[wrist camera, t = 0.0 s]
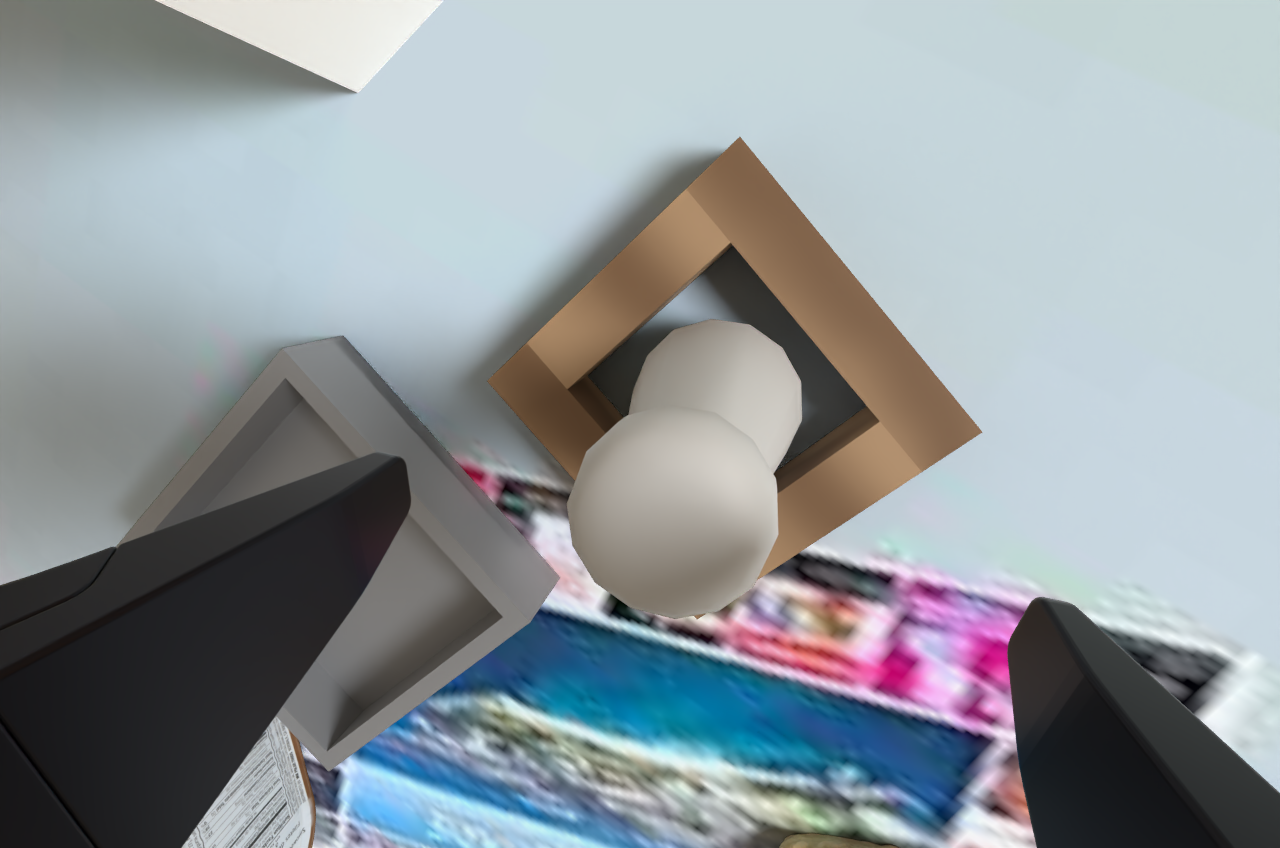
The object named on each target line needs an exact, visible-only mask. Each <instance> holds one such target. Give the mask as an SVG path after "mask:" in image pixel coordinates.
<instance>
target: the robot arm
mask: <svg viewBox="0 0 1280 848" xmlns="http://www.w3.org/2000/svg"><path fill="white" fill-rule="evenodd" d="M410 507H411V492H410V485H409V478H408V471H407V465H406V462H405V460H404V459H403V458H402V457H401V456H398V455H393V454H389V453H384V452H374V453H371V454H368V455H366V456H363V457H360V458H357V459H355V460H352V461H349V462H346V463H343V464H341V465H338V466H335V467H332V468H330V469H327V470H324V471H321V472H318V473H316V474H313V475H310V476H307V477H305V478H302V479H299V480H296V481H294V482H291V483H288V484H285V485H282V486H280V487H277V488H274V489H271V490H269V491H266V492H263V493H260V494H258V495H255V496H252V497H249V498H246V499H244V500H241V501H238V502H235V503H233V504H230V505H227V506H224V507H222V508H219V509H216V510H213V511H210V512H208V513H205V514H202V515H199V516H197V517H194V518H191V519H188V520H185V521H183V522H180V523H177V524H174V525H172V526H169V527H166V528H163V529H161V530H158V531H155V532H152V533H149V534H147V535H144V536H141V537H138V538H136V539H133V540H130V541H127V542H125V543H122V544H120V545H119V546H118V548H116V547H110V548H107V549H105V550H102V551H99V552H97V553H94V554H91V555H88V556H86V557H83V558H80V559H77V560H74V561H71V562H69V563H66V564H63V565H60V566H57V567H54V568H51V569H48V570H45V571H43V572H40V573H37V574H34V575H31V576H28V577H25V578H22V579H19V580H16V581H12V582H9V583H6V584H3V585H0V848H182V847H183V845H184V844H185V842H186V841H187V840H188V838H189V837H190V835H191V834H192V833H193V831H194V830H195V828H196V827H197V826H198V824H199V823H200V821H201V820H202V819H203V817H204V816H205V814H206V813H207V812H208V810H209V809H210V807H211V806H212V805H213V803H214V802H215V800H216V799H217V798H218V796H219V795H220V793H221V792H222V791H223V789H224V788H225V786H226V785H227V784H228V782H229V781H230V779H231V778H232V777H233V775H234V774H235V772H236V771H237V770H238V768H239V767H240V765H241V764H242V763H243V761H244V760H245V758H246V757H247V756H248V754H249V753H250V751H251V750H252V749H253V747H254V746H255V744H256V743H257V742H258V740H259V739H260V737H261V736H262V735H263V733H264V732H265V730H266V729H267V728H268V726H269V725H270V723H271V722H272V721H273V719H274V718H275V716H276V715H277V714H278V712H279V711H280V709H281V708H282V707H283V705H284V704H285V702H286V701H287V700H288V698H289V697H290V695H291V694H292V693H293V691H294V690H295V688H296V687H297V686H298V684H299V683H300V681H301V680H302V679H303V677H304V676H305V674H306V673H307V672H308V670H309V669H310V667H311V666H312V665H313V663H314V662H315V660H316V659H317V658H318V656H319V655H320V653H321V652H322V651H323V649H324V648H325V646H326V645H327V644H328V642H329V641H330V639H331V638H332V637H333V635H334V634H335V632H336V631H337V630H338V628H339V627H340V625H341V624H342V623H343V621H344V620H345V618H346V617H347V616H348V614H349V613H350V611H351V610H352V609H353V607H354V606H355V604H356V603H357V601H358V600H359V598H360V597H361V595H362V594H363V592H364V590H365V589H366V587H367V586H368V584H369V582H370V581H371V579H372V577H373V575H374V573H375V572H376V570H377V568H378V566H379V565H380V563H381V561H382V559H383V558H384V556H385V554H386V552H387V550H388V549H389V547H390V545H391V543H392V542H393V540H394V538H395V536H396V535H397V533H398V531H399V529H400V527H401V526H402V524H403V522H404V520H405V519H406V517H407V515H408V513H409V510H410ZM1007 654H1008V666H1009V675H1010V685H1011V695H1012V704H1013V714H1014V723H1015V733H1016V743H1017V752H1018V759H1019V766H1020V772H1021V777H1022V782H1023V788H1024V792H1025V797H1026V801H1027V806H1028V810H1029V815H1030V819H1031V824H1032V828H1033V833H1034V837H1035V842H1036V846H1037V848H1280V793H1279V792H1278V791H1277V790H1276V789H1275V788H1274V787H1273V786H1272V785H1270V784H1269V783H1268V782H1267V781H1266V780H1265V779H1264V778H1263V777H1262V776H1261V775H1260V774H1258V773H1257V772H1256V771H1255V770H1254V769H1253V768H1252V767H1251V766H1250V765H1249V764H1248V763H1246V762H1245V761H1244V760H1243V759H1242V758H1241V757H1240V756H1239V755H1238V754H1237V753H1236V752H1234V751H1233V750H1232V749H1231V748H1230V747H1229V746H1228V745H1227V744H1226V743H1225V742H1223V741H1222V740H1221V739H1220V738H1219V737H1218V736H1217V735H1216V734H1215V733H1214V732H1213V731H1211V730H1210V729H1209V728H1208V727H1207V726H1206V725H1205V724H1204V723H1203V722H1202V721H1201V720H1199V719H1198V718H1197V717H1196V716H1195V715H1194V714H1193V713H1192V712H1191V711H1190V710H1189V709H1187V708H1186V707H1185V706H1184V705H1183V704H1182V703H1181V702H1180V701H1179V700H1178V699H1177V698H1175V697H1174V696H1173V695H1172V694H1171V693H1170V692H1169V691H1168V690H1167V689H1166V688H1164V687H1163V686H1162V685H1161V684H1160V683H1159V682H1158V681H1157V680H1156V679H1155V678H1154V677H1152V676H1151V675H1150V674H1149V673H1148V672H1147V671H1146V670H1145V669H1144V668H1143V667H1142V666H1140V665H1139V664H1138V663H1137V662H1136V661H1135V660H1134V659H1133V658H1132V657H1131V656H1130V655H1128V654H1127V653H1126V652H1125V651H1124V650H1123V649H1122V648H1121V647H1120V646H1119V645H1118V644H1116V643H1115V642H1114V641H1113V640H1112V639H1111V638H1110V637H1109V636H1108V635H1107V634H1105V633H1104V632H1103V631H1102V630H1101V629H1100V628H1099V627H1098V626H1097V625H1096V624H1095V623H1093V622H1092V621H1091V620H1090V619H1089V618H1088V617H1087V616H1086V615H1085V614H1084V613H1083V612H1081V611H1080V610H1079V609H1078V608H1077V607H1076V606H1074V605H1073V604H1071V603H1068V602H1064V601H1059V600H1055V599H1050V598H1045V597H1038V598H1035V599H1034V600H1033V601H1032V602H1031V603H1030V604H1029V606H1028V608H1027V609H1026V611H1025V613H1024V615H1023V616H1022V618H1021V620H1020V622H1019V623H1018V625H1017V627H1016V629H1015V630H1014V632H1013V634H1012V636H1011V638H1010V641H1009V644H1008V653H1007Z"/></svg>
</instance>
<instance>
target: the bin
mask: <svg viewBox="0 0 1280 848" xmlns="http://www.w3.org/2000/svg"><path fill="white" fill-rule="evenodd" d="M374 452H384V453H389V454H393V455H398V456H401V457H402V458H403V459H404V460H405V462H406V465H407V471H408V478H409V485H410V492H411V507H410V510H409V513H408V515H407V517H406V519H405V520H404V522H403V524H402V526H401V527H400V529H399V531H398V533H397V535H396V536H395V538H394V540H393V542H392V543H391V545H390V547H389V549H388V550H387V552H386V554H385V556H384V558H383V559H382V561H381V563H380V565H379V566H378V568H377V570H376V572H375V573H374V575H373V577H372V579H371V581H370V582H369V584H368V586H367V587H366V589H365V590H364V592H363V594H362V595H361V597H360V598H359V600H358V601H357V603H356V604H355V606H354V607H353V609H352V610H351V611H350V613H349V614H348V616H347V617H346V618H345V620H344V621H343V623H342V624H341V625H340V627H339V628H338V630H337V631H336V632H335V634H334V635H333V637H332V638H331V639H330V641H329V642H328V644H327V645H326V646H325V648H324V649H323V651H322V652H321V653H320V655H319V656H318V658H317V659H316V660H315V662H314V663H313V665H312V666H311V667H310V669H309V670H308V672H307V673H306V674H305V676H304V677H303V679H302V680H301V681H300V683H299V684H298V686H297V687H296V688H295V690H294V691H293V693H292V694H291V695H290V697H289V698H288V700H287V701H286V702H285V704H284V705H283V707H282V708H281V709H280V711H279V712H278V714H277V715H276V717H277V718H278V719H279V720H280V721H281V722H282V723H283V724H284V725H285V726H286V727H287V728H288V729H289V730H290V731H291V732H292V733H293V735H294V736H295V737H296V738H297V739H298V740H299V741H300V742H301V743H302V744H303V745H304V746H305V747H306V748H307V749H308V750H309V751H310V752H311V753H312V754H313V755H314V757H315V758H316V759H317V760H318V761H319V762H320V763H321V764H322V765H323V766H324V767H325V768H326V769H327V770H328V771H330V770H331V769H333V768H334V767H335V766H337V765H338V764H340V763H341V762H342V761H344V760H345V759H346V758H348V757H349V756H350V755H352V754H353V753H354V752H356V751H357V750H358V749H360V748H361V747H362V746H364V745H365V744H366V743H368V742H369V741H371V740H372V739H373V738H375V737H376V736H377V735H379V734H380V733H381V732H383V731H384V730H385V729H387V728H388V727H389V726H391V725H392V724H393V723H395V722H396V721H398V720H399V719H400V718H402V717H403V716H404V715H406V714H407V713H408V712H410V711H411V710H412V709H414V708H415V707H416V706H418V705H419V704H420V703H422V702H423V701H425V700H426V699H427V698H429V697H430V696H431V695H433V694H434V693H435V692H437V691H438V690H439V689H441V688H442V687H443V686H445V685H446V684H447V683H449V682H450V681H451V680H453V679H454V678H456V677H457V676H458V675H460V674H461V673H462V672H464V671H465V670H466V669H468V668H469V667H470V666H472V665H473V664H474V663H476V662H477V661H478V660H480V659H481V658H483V657H484V656H485V655H487V654H488V653H489V652H491V651H492V650H493V649H495V648H496V647H497V646H499V645H500V644H501V643H503V642H504V641H505V640H507V639H508V638H509V637H511V636H512V635H514V634H515V633H516V632H518V631H519V630H520V629H522V628H523V627H524V626H526V625H527V624H528V623H530V622H531V620H532V619H533V617H534V616H535V614H536V613H537V611H538V610H539V608H540V607H541V605H542V604H543V602H544V601H545V599H546V598H547V596H548V595H549V593H550V592H551V591H552V589H553V588H554V586H555V585H556V583H557V582H558V580H559V579H560V577H559V576H558V575H557V573H556V572H555V571H554V570H553V569H552V568H551V567H550V566H549V565H548V563H547V562H546V561H545V560H544V559H543V558H542V557H541V556H540V555H539V553H538V552H537V551H536V550H535V549H534V548H533V547H532V546H531V544H530V543H529V542H528V541H527V540H526V539H525V538H524V537H523V536H522V534H521V533H520V532H519V531H518V530H517V529H516V528H515V527H514V526H513V524H512V523H511V522H510V521H509V520H508V519H507V518H506V517H505V515H504V514H503V513H502V512H501V511H500V510H499V509H498V508H497V507H496V505H495V504H494V503H493V502H492V501H491V500H490V499H489V498H488V497H487V495H486V494H485V493H484V492H483V491H482V490H481V489H480V488H479V486H478V485H477V484H476V483H475V482H474V481H473V480H472V479H471V478H470V476H469V475H468V474H467V473H466V472H465V471H464V470H463V469H462V468H461V466H460V465H459V464H458V463H457V462H456V461H455V460H454V459H453V457H452V456H451V455H450V454H449V453H448V452H447V451H446V450H445V449H444V447H443V446H442V445H441V444H440V443H439V442H438V441H437V440H436V439H435V437H434V436H433V435H432V434H431V433H430V432H429V431H428V430H427V428H426V427H425V426H424V425H423V424H422V423H421V422H420V421H419V420H418V418H417V417H416V416H415V415H414V414H413V413H412V412H411V411H410V410H409V408H408V407H407V406H406V405H405V404H404V403H403V402H402V401H401V399H400V398H399V397H398V396H397V395H396V394H395V393H394V392H393V391H392V389H391V388H390V387H389V386H388V385H387V384H386V383H385V382H384V381H383V379H382V378H381V377H380V376H379V375H378V374H377V373H376V372H375V370H374V369H373V368H372V367H371V366H370V365H369V364H368V363H367V362H366V360H365V359H364V358H363V357H362V356H361V355H360V354H359V353H358V351H357V350H356V349H355V348H354V347H353V346H352V345H351V344H350V343H349V341H348V340H347V339H346V338H345V337H344V336H339V337H334V338H329V339H324V340H320V341H315V342H310V343H305V344H300V345H295V346H291V347H286V348H282V349H281V350H280V351H279V353H278V354H277V355H276V356H275V357H274V359H273V360H272V361H271V362H270V363H269V365H268V366H267V367H266V368H265V369H264V370H263V372H262V373H261V374H260V375H259V376H258V378H257V379H256V380H255V381H254V382H253V384H252V385H251V386H250V387H249V388H248V390H247V391H246V392H245V393H244V394H243V396H242V397H241V398H240V399H239V400H238V402H237V403H236V404H235V405H234V406H233V408H232V409H231V410H230V411H229V412H228V413H227V415H226V416H225V417H224V418H223V419H222V421H221V422H220V423H219V424H218V425H217V427H216V428H215V429H214V430H213V431H212V433H211V434H210V435H209V436H208V437H207V439H206V440H205V441H204V442H203V443H202V445H201V446H200V447H199V448H198V449H197V451H196V452H195V453H194V454H193V455H192V457H191V458H190V459H189V460H188V461H187V462H186V464H185V465H184V466H183V467H182V468H181V470H180V471H179V472H178V473H177V474H176V476H175V477H174V478H173V479H172V480H171V482H170V483H169V484H168V485H167V486H166V488H165V489H164V490H163V491H162V492H161V494H160V495H159V496H158V497H157V498H156V500H155V501H154V502H153V503H152V504H151V506H150V507H149V508H148V509H147V510H146V511H145V513H144V514H143V515H142V516H141V517H140V519H139V520H138V521H137V522H136V523H135V525H134V526H133V527H132V528H131V529H130V531H129V532H128V533H127V534H126V535H125V537H124V538H123V539H122V540H121V541H120V543H119V544H118V545H117V546H116V548H118V546H119V545H120V544H122V543H125V542H127V541H130V540H133V539H136V538H138V537H141V536H144V535H147V534H149V533H152V532H155V531H158V530H161V529H163V528H166V527H169V526H172V525H174V524H177V523H180V522H183V521H185V520H188V519H191V518H194V517H197V516H199V515H202V514H205V513H208V512H210V511H213V510H216V509H219V508H222V507H224V506H227V505H230V504H233V503H235V502H238V501H241V500H244V499H246V498H249V497H252V496H255V495H258V494H260V493H263V492H266V491H269V490H271V489H274V488H277V487H280V486H282V485H285V484H288V483H291V482H294V481H296V480H299V479H302V478H305V477H307V476H310V475H313V474H316V473H318V472H321V471H324V470H327V469H330V468H332V467H335V466H338V465H341V464H343V463H346V462H349V461H352V460H355V459H357V458H360V457H363V456H366V455H368V454H371V453H374Z"/></svg>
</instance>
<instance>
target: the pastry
mask: <svg viewBox="0 0 1280 848" xmlns="http://www.w3.org/2000/svg"><path fill="white" fill-rule="evenodd" d="M779 848H899V847H896V846H894V845H884V846H880V845H876V844H874V843H870V842H864V841H857V840H853V839H848V838H842V837H836V836H831V835H820V834H814V833H808V834H796V835H791V836H788V837H786V838H785V839H784V842H783V843H782V844H781V845H780V847H779Z"/></svg>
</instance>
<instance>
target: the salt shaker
mask: <svg viewBox="0 0 1280 848" xmlns="http://www.w3.org/2000/svg"><path fill="white" fill-rule="evenodd" d="M801 421H802V394H801V380H800V378H799V377H798V375H797V373H796V371H795V369H794V368H793V366H792V364H791V362H790V360H789V359H788V357H787V355H786V353H785V352H784V350H783V348H782V347H781V346H779V345H778V344H776V343H775V342H774V341H772V340H771V339H769V338H768V337H767V336H765V335H764V334H762V333H761V332H760V331H758V330H757V329H756V328H754V327H753V326H751V325H750V324H743V323H736V322H729V321H722V320H715V319H709V320H706V321H702V322H699V323H695V324H691V325H688V326H684V327H681V328H677V329H674V330H673V331H672V332H671V333H670V334H669V335H667V336H666V337H665V338H664V339H663V340H662V341H661V342H660V343H659V344H658V345H657V346H656V347H655V348H654V349H653V350H652V351H651V352H650V353H649V354H648V355H647V357H646V359H645V362H644V364H643V367H642V369H641V372H640V374H639V377H638V379H637V382H636V384H635V387H634V389H633V394H632V399H631V404H630V409H629V414H628V415H627V416H626V417H624V418H623V419H622V420H620V421H619V422H618V423H617V424H615V425H614V426H613V427H612V428H611V429H610V430H609V431H608V432H607V433H606V434H605V435H604V436H603V437H601V438H600V439H599V440H598V441H597V442H596V443H595V444H594V445H593V446H592V447H591V448H590V449H589V450H587V451H586V454H585V457H584V459H583V462H582V464H581V467H580V470H579V472H578V475H577V478H576V480H575V483H574V486H573V488H572V491H571V494H570V496H569V499H568V502H567V510H568V517H569V524H570V531H571V538H572V545H573V547H574V549H575V550H576V552H577V554H578V555H579V557H580V559H581V560H582V562H583V564H584V565H585V567H586V568H587V570H588V572H589V573H590V575H591V577H592V578H593V580H594V582H595V583H596V584H598V585H599V586H601V587H602V588H604V589H605V590H606V591H608V592H609V593H611V594H612V595H614V596H615V597H616V598H618V599H619V600H621V601H622V602H624V603H625V604H626V605H628V606H629V607H631V608H633V609H637V610H641V611H645V612H649V613H653V614H657V615H661V616H665V617H669V618H673V619H678V618H683V617H689V616H694V615H700V614H706V613H711V612H717V611H719V610H721V609H722V608H724V607H725V606H726V605H728V604H729V603H731V602H732V601H734V600H735V599H737V598H738V597H740V596H741V595H742V594H744V593H745V592H747V591H748V590H750V589H751V588H753V587H754V585H755V583H756V581H757V579H758V576H759V574H760V572H761V570H762V568H763V566H764V564H765V562H766V560H767V558H768V556H769V554H770V552H771V550H772V547H773V545H774V543H775V541H776V539H777V537H778V503H777V484H776V478H775V476H774V472H775V471H776V469H777V467H778V466H779V464H780V462H781V461H782V459H783V458H784V456H785V454H786V452H787V450H788V448H789V446H790V444H791V442H792V440H793V438H794V436H795V434H796V431H797V429H798V427H799V425H800V423H801Z"/></svg>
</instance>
